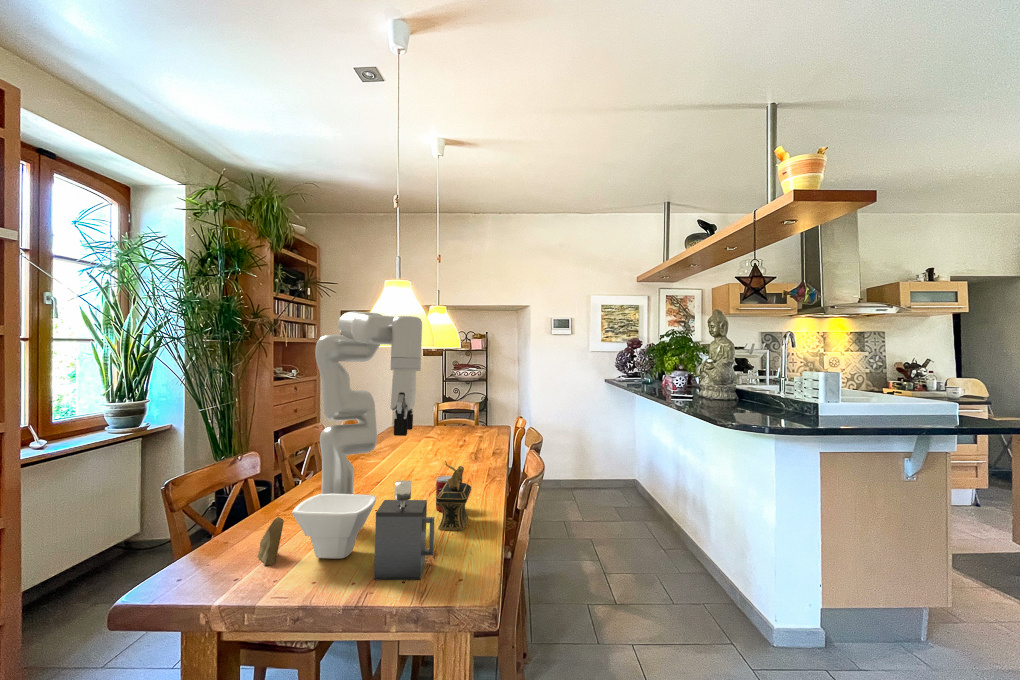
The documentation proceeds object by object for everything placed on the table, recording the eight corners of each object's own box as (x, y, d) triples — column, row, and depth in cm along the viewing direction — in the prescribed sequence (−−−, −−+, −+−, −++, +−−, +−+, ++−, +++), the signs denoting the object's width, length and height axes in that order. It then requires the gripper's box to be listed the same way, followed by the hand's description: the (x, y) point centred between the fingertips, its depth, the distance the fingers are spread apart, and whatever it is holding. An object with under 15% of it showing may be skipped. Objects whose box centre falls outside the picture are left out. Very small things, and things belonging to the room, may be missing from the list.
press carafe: (374, 580, 123) (375, 512, 124) (382, 561, 134) (384, 499, 135) (430, 579, 124) (432, 512, 124) (434, 561, 135) (436, 500, 135)
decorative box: (442, 515, 175) (443, 456, 175) (470, 516, 174) (472, 457, 175) (432, 535, 155) (433, 469, 155) (464, 536, 154) (465, 470, 155)
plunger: (379, 572, 124) (381, 486, 125) (386, 557, 133) (388, 478, 134) (416, 572, 125) (418, 486, 125) (421, 557, 134) (423, 478, 134)
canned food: (431, 511, 179) (432, 479, 179) (443, 505, 186) (443, 474, 187) (451, 514, 176) (451, 481, 177) (461, 508, 184) (462, 476, 184)
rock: (283, 557, 130) (300, 538, 140) (262, 531, 129) (280, 514, 139) (250, 581, 131) (269, 560, 141) (229, 555, 130) (249, 536, 140)
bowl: (313, 541, 148) (315, 492, 148) (380, 543, 147) (382, 494, 147) (283, 568, 129) (284, 512, 129) (359, 571, 128) (361, 514, 129)
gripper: (396, 363, 139) (394, 426, 139) (384, 365, 122) (381, 437, 122) (424, 364, 140) (422, 427, 139) (416, 366, 123) (413, 438, 122)
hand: (403, 432), depth 131 cm, fingers open, 9 cm apart
